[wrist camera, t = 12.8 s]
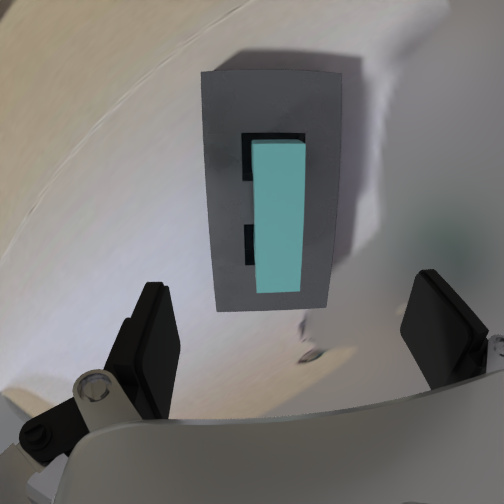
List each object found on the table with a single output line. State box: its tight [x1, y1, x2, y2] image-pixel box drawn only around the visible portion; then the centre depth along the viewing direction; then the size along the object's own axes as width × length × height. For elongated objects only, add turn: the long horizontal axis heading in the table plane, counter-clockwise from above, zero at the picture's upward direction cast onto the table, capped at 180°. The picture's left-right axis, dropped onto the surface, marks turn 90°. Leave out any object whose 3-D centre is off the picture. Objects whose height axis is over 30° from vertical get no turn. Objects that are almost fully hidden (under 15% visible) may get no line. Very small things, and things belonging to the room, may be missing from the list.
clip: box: [251, 139, 306, 293], centre depth 22 cm, size 10×3×8 cm, turn 1°
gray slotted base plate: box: [201, 69, 342, 312], centre depth 24 cm, size 20×10×3 cm, turn 1°
